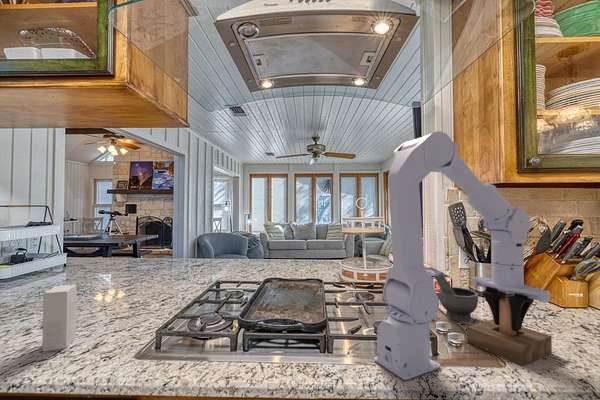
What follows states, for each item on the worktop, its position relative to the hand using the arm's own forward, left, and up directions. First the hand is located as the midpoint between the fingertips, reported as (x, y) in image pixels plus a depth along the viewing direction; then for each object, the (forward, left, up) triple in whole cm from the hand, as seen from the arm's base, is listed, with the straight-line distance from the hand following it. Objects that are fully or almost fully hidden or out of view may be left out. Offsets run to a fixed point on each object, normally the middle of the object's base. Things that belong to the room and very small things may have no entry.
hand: (507, 326), depth 64 cm
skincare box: (-85, +45, -5) cm, 96 cm away
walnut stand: (0, 0, -4) cm, 4 cm away
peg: (0, 0, -3) cm, 3 cm away
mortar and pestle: (+7, +17, -5) cm, 19 cm away
